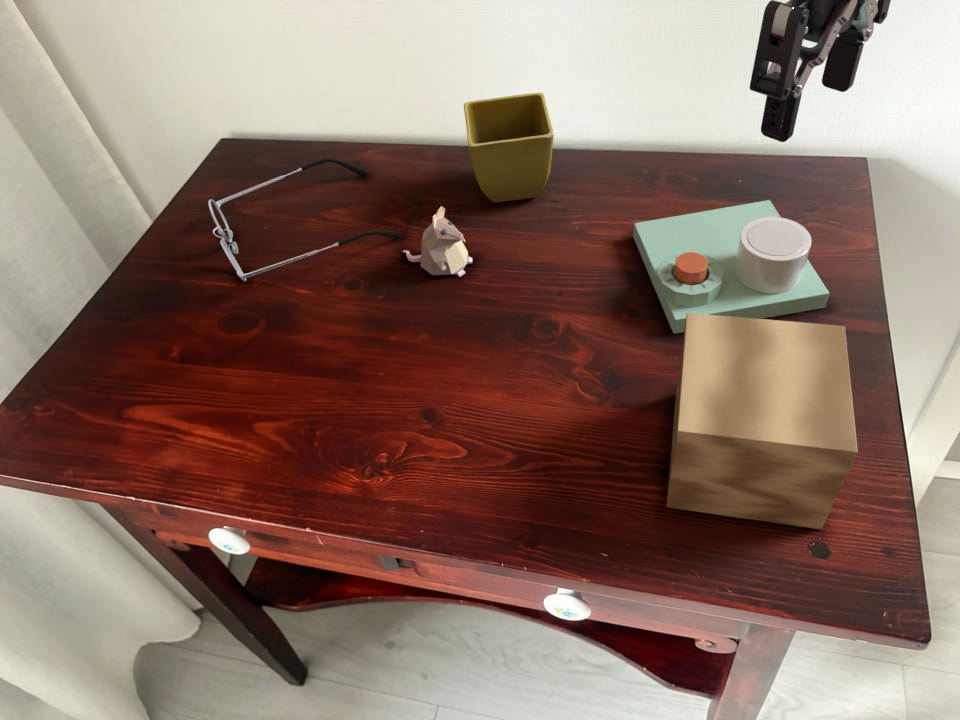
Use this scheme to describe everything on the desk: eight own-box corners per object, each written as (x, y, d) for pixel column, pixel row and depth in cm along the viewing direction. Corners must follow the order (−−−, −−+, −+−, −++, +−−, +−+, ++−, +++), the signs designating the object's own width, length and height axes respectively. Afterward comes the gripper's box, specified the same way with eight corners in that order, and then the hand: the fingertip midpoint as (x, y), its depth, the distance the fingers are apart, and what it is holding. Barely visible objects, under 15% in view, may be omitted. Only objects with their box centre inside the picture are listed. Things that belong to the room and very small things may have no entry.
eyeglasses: (214, 221, 88) (197, 186, 84) (364, 170, 91) (354, 134, 87) (240, 305, 78) (222, 269, 74) (408, 244, 81) (399, 206, 77)
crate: (814, 409, 61) (845, 325, 54) (821, 529, 54) (858, 452, 47) (675, 394, 64) (686, 312, 56) (666, 507, 57) (677, 430, 50)
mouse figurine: (414, 237, 82) (402, 185, 77) (479, 252, 79) (472, 200, 74) (390, 267, 79) (376, 216, 74) (457, 285, 76) (447, 233, 71)
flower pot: (547, 160, 88) (543, 90, 81) (557, 206, 82) (554, 134, 76) (473, 171, 88) (463, 101, 82) (478, 217, 83) (468, 146, 76)
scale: (825, 308, 68) (834, 279, 66) (669, 335, 68) (672, 307, 66) (766, 214, 78) (772, 186, 75) (629, 238, 78) (631, 210, 75)
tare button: (710, 282, 68) (712, 270, 67) (679, 288, 68) (681, 275, 67) (700, 262, 70) (701, 249, 68) (670, 267, 70) (671, 255, 68)
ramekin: (815, 267, 69) (825, 233, 66) (779, 303, 67) (788, 269, 64) (757, 241, 72) (764, 207, 69) (720, 274, 70) (726, 241, 67)
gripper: (862, -82, 40) (801, 173, 52) (981, -161, 46) (901, 85, 58) (740, -103, 44) (709, 138, 56) (863, -174, 50) (811, 59, 62)
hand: (806, 111), depth 57 cm, fingers open, 8 cm apart
